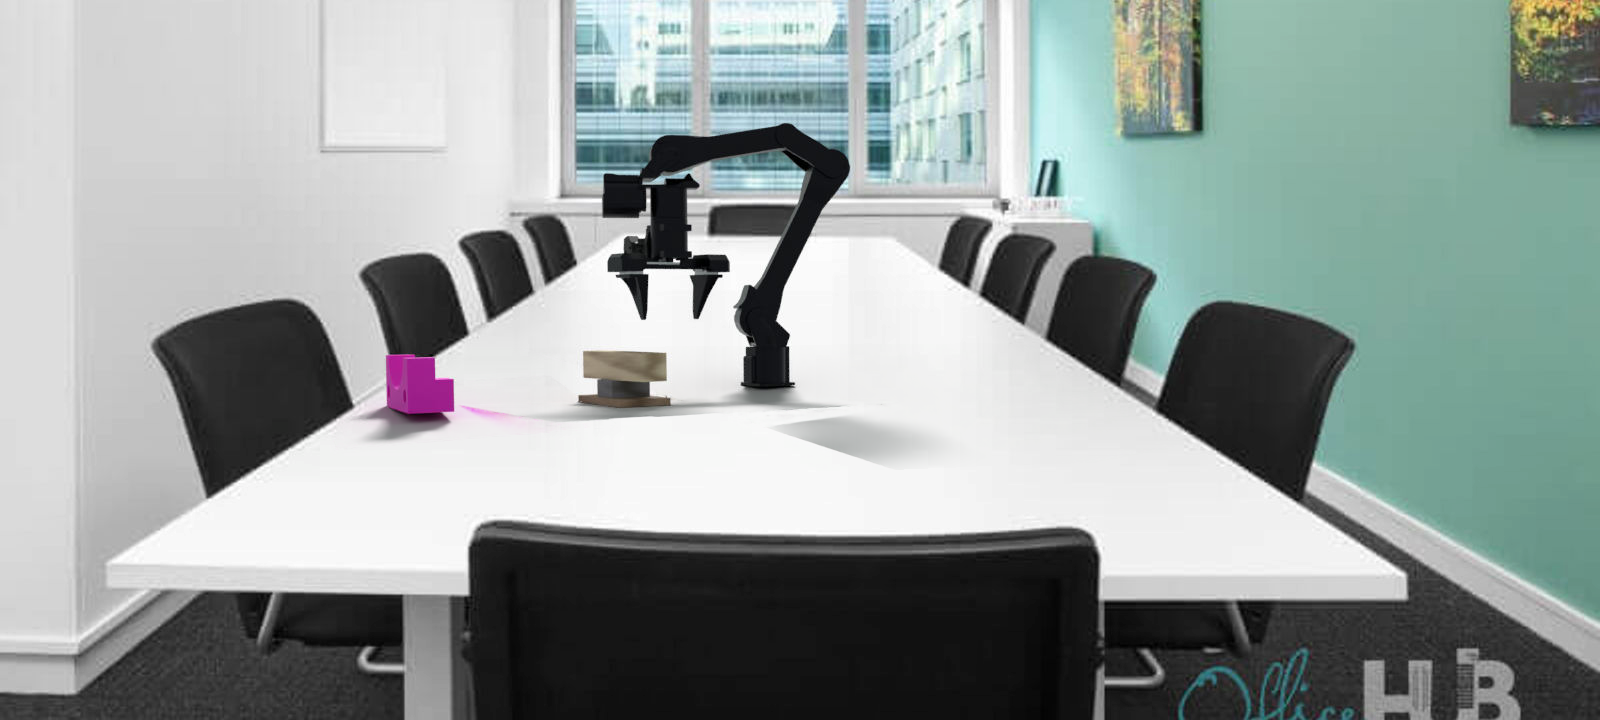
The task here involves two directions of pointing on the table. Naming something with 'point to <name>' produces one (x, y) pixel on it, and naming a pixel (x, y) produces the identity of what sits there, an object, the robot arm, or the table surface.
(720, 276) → the robot arm
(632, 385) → the fulcrum stand
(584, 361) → the beam
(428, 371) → the toy block
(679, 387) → the table surface
